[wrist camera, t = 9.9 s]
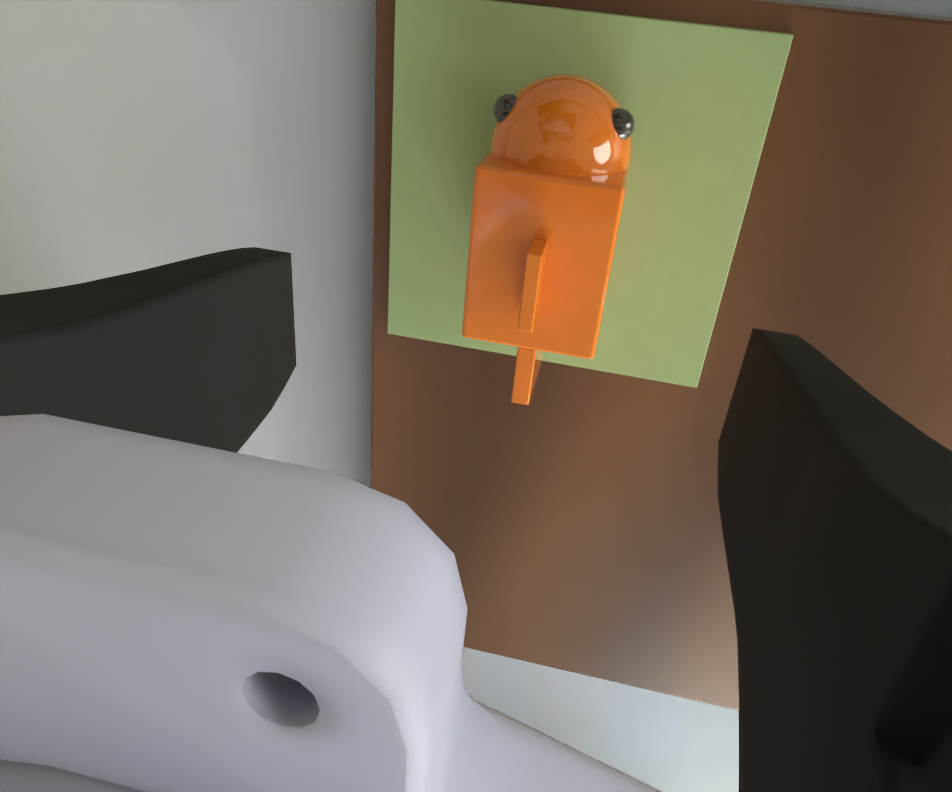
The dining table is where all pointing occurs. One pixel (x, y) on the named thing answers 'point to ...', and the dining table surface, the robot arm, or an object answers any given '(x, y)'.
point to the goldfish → (546, 221)
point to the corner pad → (649, 180)
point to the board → (703, 408)
